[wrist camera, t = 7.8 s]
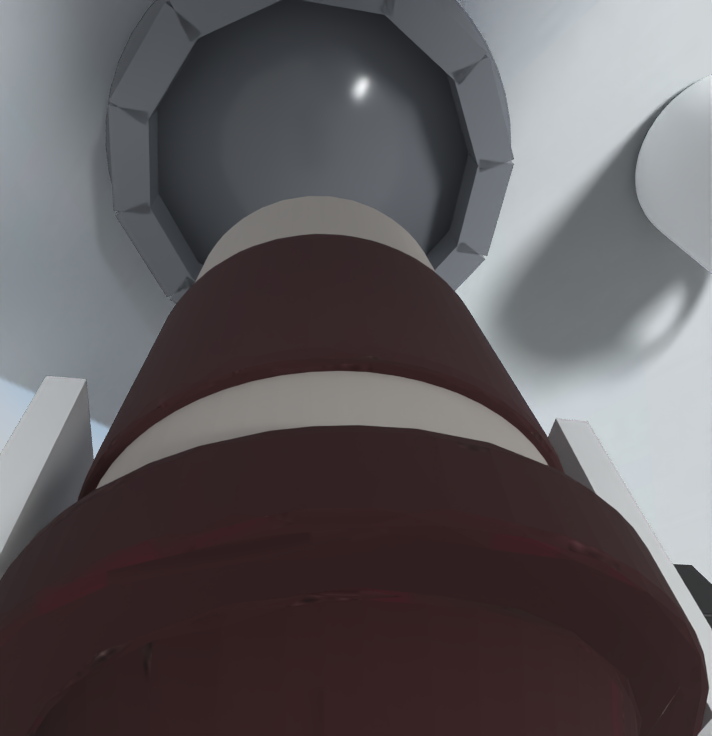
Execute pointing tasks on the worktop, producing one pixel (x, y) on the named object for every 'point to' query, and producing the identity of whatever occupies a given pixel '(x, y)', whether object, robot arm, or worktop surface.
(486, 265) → the worktop surface
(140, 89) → the bowl
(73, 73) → the worktop surface
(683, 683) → the coffee cup
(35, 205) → the worktop surface
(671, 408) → the worktop surface
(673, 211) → the mug
